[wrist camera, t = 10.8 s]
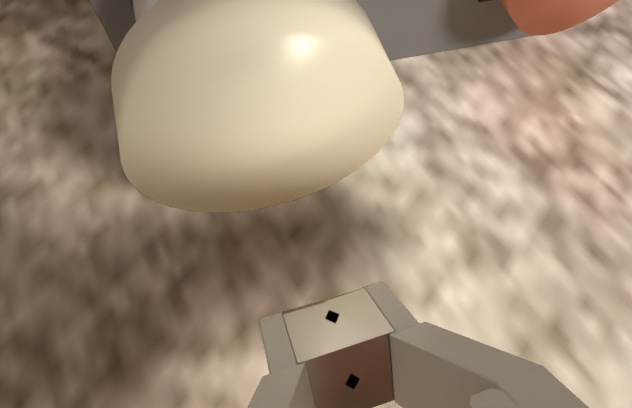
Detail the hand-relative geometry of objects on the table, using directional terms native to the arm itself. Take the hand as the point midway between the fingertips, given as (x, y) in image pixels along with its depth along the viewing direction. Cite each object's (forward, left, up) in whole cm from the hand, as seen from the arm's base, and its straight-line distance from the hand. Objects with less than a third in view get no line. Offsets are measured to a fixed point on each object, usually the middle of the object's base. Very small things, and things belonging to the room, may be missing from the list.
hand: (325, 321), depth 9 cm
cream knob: (0, +8, -3) cm, 9 cm away
